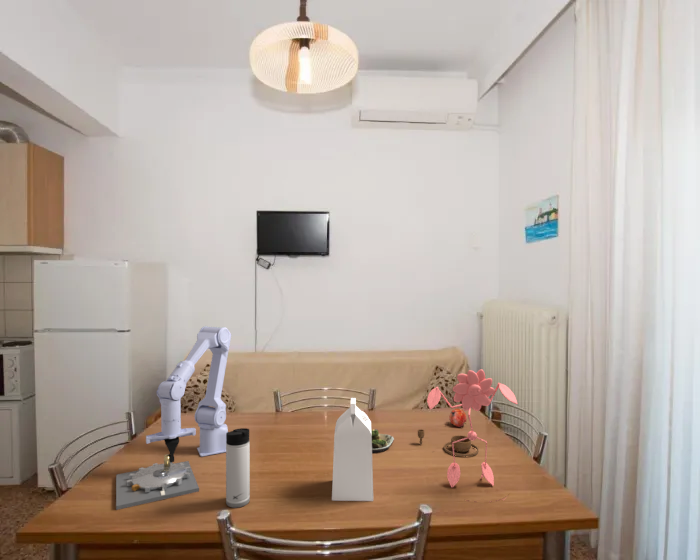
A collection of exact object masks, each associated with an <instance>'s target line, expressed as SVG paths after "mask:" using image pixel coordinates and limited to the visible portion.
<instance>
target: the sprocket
mask: <svg viewBox="0 0 700 560" xmlns="http://www.w3.org/2000/svg"><path fill="white" fill-rule="evenodd" d="M179 463H180V462H179ZM190 466H191V465H190ZM190 466H189V467H184V463H180V464H175V463H174V462H171V463H170V453H166V454H163V463H157V462H156V463H152V465H150V466H147V467H139V468H138V470H139V471H138V470H137V471H138V472H137V473H135V474H130V475H129V479H131V480H127V486H131V485H132V490H133V491H136V490H138V489H141V490H145V492H150V491H151V490H157V489H162V491H163V490H167V487H169V486H172V485H175V484H176V485H180V484H182V480H183V479H184V478H189V477H190ZM187 472H188V473H187Z"/></svg>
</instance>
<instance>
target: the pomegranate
mask: <svg viewBox="0 0 700 560" xmlns="http://www.w3.org/2000/svg"><path fill="white" fill-rule="evenodd" d="M448 416H449V422H450V424H452V425H453V426H455V427H456V428H462V427H463V426H464V425H467V423H466V422H467V419H468V418H467V414H466V411H464V410H463V408H454V409H452V410H451V411H450V414H449V415H448Z"/></svg>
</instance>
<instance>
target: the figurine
mask: <svg viewBox="0 0 700 560" xmlns="http://www.w3.org/2000/svg"><path fill="white" fill-rule="evenodd" d="M466 373H467V374H466ZM466 373H459V374H457V376H456V379H457V381H458V382H459V383H456V385H454V386H453V387H452V391H453V392H454V396H453V402H455V403H460V402H461V404H456V405H453V406H452V404H451V403H450V402H449V401H448V399H447V398H446V397H445V396H444V394H443V392H441V390H440V389H439V386H436V387H435V388H432V389H431V391H429V393H428V395H427V399H426V401H427V402H426V403H427V405H428V408H429V410H432V409H433V408H435V407H436V406H437V405H438V404H439V402H440V400H441V398H443V399H444V401H445V402H446V404H448V405H447V406H449V407H450V408H451V409H452V410H453V409H457V408H460V407H462V410H463V411H464V412H468V413H467V417H468V418H467V419H468V422H469V426H470V431H468V432H467V436H466V437H467V438H464V439H461V440H458V441H455V442H453V443H456V442H459V441H462V440H465V439H468V438H469V439H470V440H471V442H472V441H475V440H477V439H478V440H479V441H482V442H484V443H485V455H484V456H485V457H484V461H483V462H481V464H480V465H481V466H480V467H481V475H480V479H481V478H485V481H487V482H488V484H490V485H491V486H493V487H494V485H495V484H494V483H495V477H494V471H493V470H492V468H491V466H490V465H489V464H488V463H487V453H488V441H487V440H485V439H482V438H480V437H478V434H477V432H476V431H474V429H473V424H472V418H471V410H474V411H475V412H479V411H481V409H482V406H484V407H485V406H487V407H490V405H491V403H492V401H493V398H494V396H495V394H496V393H497V391H498V390H499V391H500V393H501V395H502V396H503V397H504V398H505V399H506V400H508V401H509V402H511V403H513V404H515V405H518V400H517V398H516V395H515V393H514V392H513V391H512V390H511V389H510V387H508V386H507V385H505V384H504V383H501V382H498V383H497V385H496V387H495V388H494V387H491V386H492V384H493V378H491V377H489V378H486V374H485V371H484V370H483V369H478V371H477V372H475V371H474V370H470V369H469V370H468V371H467V372H466ZM489 397H490V398H489ZM471 408H472V409H471ZM453 443H452V446H451V447H452V452H453V455H452V456H453V462H451V463H450V465H449V466H448V469H447V472H446V476H447V477H446V478H447V480H448V483H449V486H450V487H451V488H454V487H455V486H456V484H457V483H458V482H459V481H460V479H461V468H460V465H459V464H458V463H457V462H456V456H454V453H455V449H454V444H453ZM507 497H508V495H506V496H505V497H503V498H500V499H497V500H496V502H497V501H501V500H505V499H507ZM465 500H466V499H465ZM466 501H467V502H469V500H466ZM473 501H474V500H473ZM492 501H493V500H492ZM492 501H490V503H493V502H492ZM473 503H476V501H474V502H473Z"/></svg>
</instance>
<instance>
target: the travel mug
mask: <svg viewBox="0 0 700 560" xmlns="http://www.w3.org/2000/svg"><path fill="white" fill-rule="evenodd" d="M250 448H251V447H250V428H246V427H245V428H244V427H243V428H236V429H232V430H231V431H228V432H227V433H226V452H225V502H226V506H228V507H230V508H236V509H237V508H242V507H244V506H247V505H248V504H249V502H250V500H251V496H250V494H251V492H250V491H251V490H250V485H251V484H250V483H251V482H250V477H251V476H250V474H251V473H250V472H251V471H250V468H251V467H250V466H251V465H250V464H251V463H250V461H251V460H250V456H251V455H250V453H251V451H250Z"/></svg>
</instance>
